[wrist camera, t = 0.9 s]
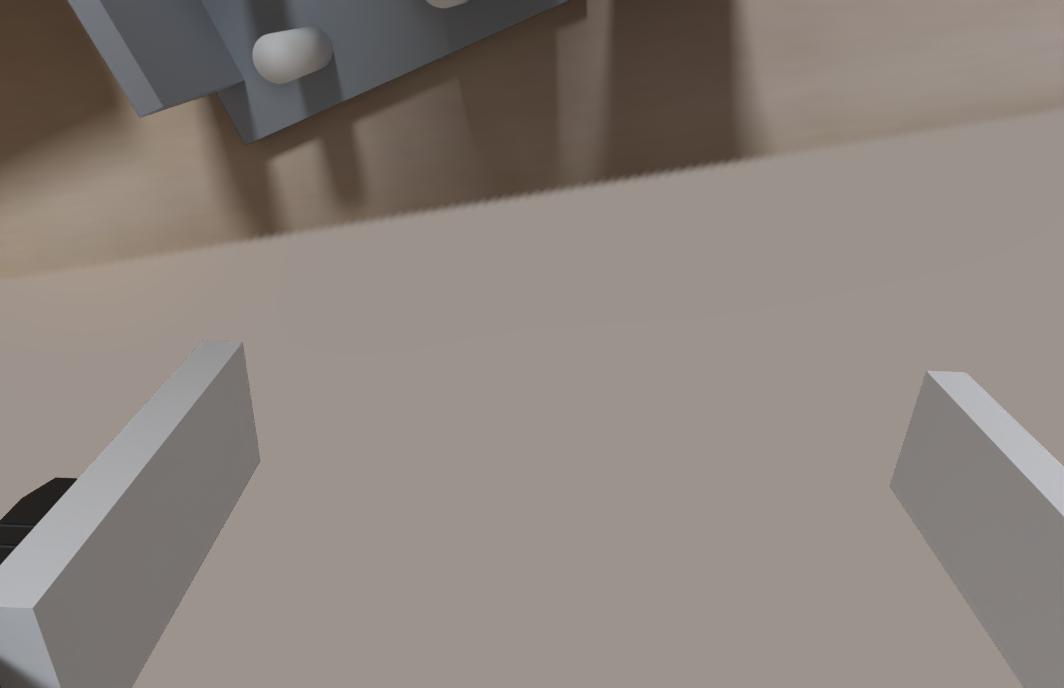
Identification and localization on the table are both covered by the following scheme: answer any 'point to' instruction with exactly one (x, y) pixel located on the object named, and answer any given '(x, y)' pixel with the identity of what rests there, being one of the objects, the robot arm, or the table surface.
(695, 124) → the table surface
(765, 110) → the table surface
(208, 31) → the cradle
